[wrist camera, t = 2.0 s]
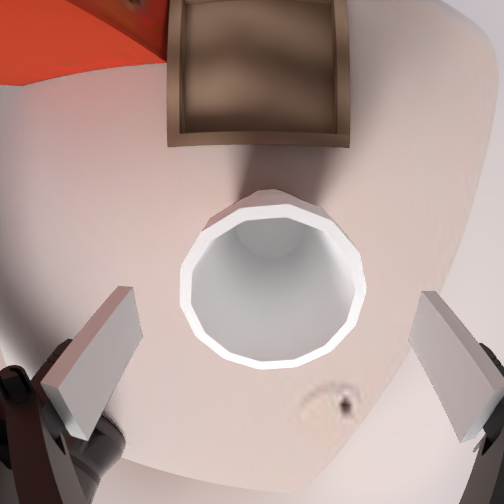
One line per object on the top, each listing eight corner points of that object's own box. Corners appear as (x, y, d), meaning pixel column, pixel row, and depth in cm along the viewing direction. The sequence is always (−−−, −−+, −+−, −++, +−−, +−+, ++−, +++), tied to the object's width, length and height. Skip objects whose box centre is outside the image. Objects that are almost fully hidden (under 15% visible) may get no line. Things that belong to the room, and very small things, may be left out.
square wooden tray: (341, 146, 25) (349, 148, 22) (176, 145, 25) (167, 147, 23) (338, -1, 20) (344, -11, 17) (178, 0, 20) (170, -10, 18)
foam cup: (251, 289, 30) (242, 389, 18) (196, 207, 27) (142, 268, 15) (341, 241, 28) (390, 321, 16) (290, 150, 25) (313, 165, 13)
